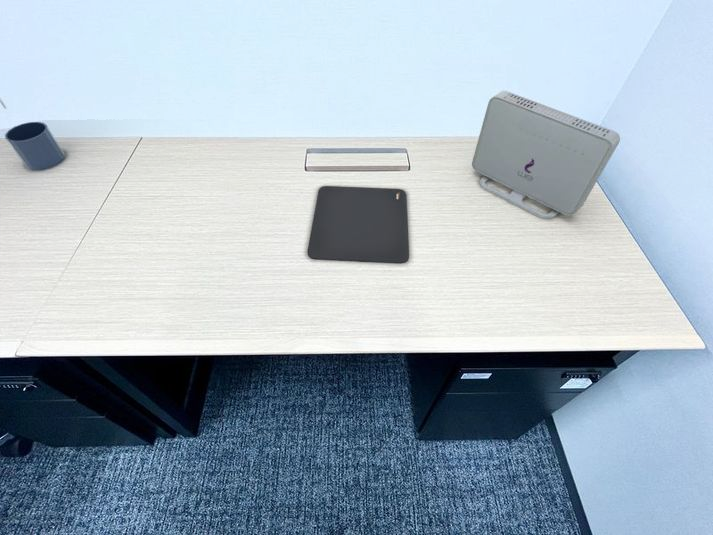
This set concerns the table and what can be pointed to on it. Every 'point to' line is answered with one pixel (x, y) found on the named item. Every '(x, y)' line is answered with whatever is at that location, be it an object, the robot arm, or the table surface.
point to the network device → (541, 154)
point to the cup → (35, 145)
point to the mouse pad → (360, 225)
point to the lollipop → (3, 104)
